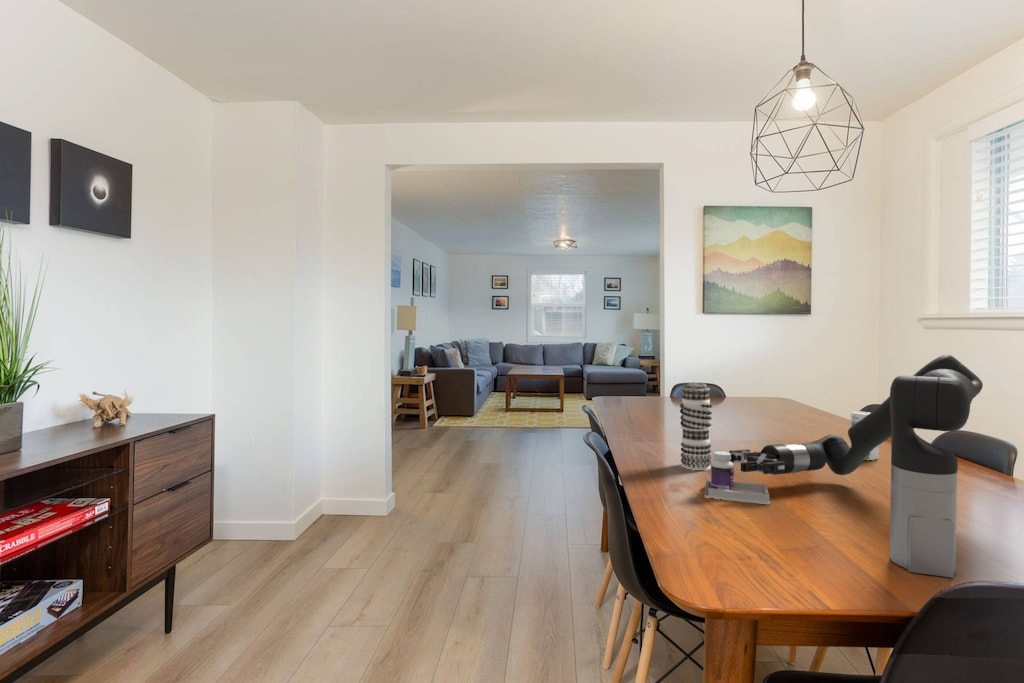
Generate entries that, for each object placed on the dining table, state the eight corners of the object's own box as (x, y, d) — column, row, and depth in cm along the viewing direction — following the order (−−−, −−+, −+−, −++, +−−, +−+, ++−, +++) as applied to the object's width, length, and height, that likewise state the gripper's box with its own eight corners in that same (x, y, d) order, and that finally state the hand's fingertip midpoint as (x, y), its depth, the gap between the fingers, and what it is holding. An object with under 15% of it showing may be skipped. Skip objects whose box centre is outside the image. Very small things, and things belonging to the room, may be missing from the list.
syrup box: (849, 457, 168) (850, 411, 167) (861, 455, 170) (861, 410, 170) (868, 461, 163) (868, 414, 162) (879, 459, 165) (880, 413, 165)
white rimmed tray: (766, 492, 134) (766, 484, 134) (770, 504, 125) (770, 496, 125) (705, 486, 140) (705, 478, 139) (704, 497, 130) (704, 489, 130)
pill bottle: (735, 495, 130) (735, 456, 130) (712, 494, 131) (712, 455, 131) (731, 488, 136) (731, 450, 135) (709, 487, 137) (709, 450, 136)
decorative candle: (707, 463, 163) (707, 381, 162) (716, 471, 153) (716, 385, 153) (676, 462, 163) (676, 381, 163) (683, 470, 154) (683, 385, 153)
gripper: (765, 438, 144) (713, 442, 141) (806, 450, 131) (749, 455, 127) (765, 466, 145) (713, 470, 141) (806, 480, 131) (749, 486, 127)
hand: (730, 463), depth 134 cm, fingers open, 8 cm apart
